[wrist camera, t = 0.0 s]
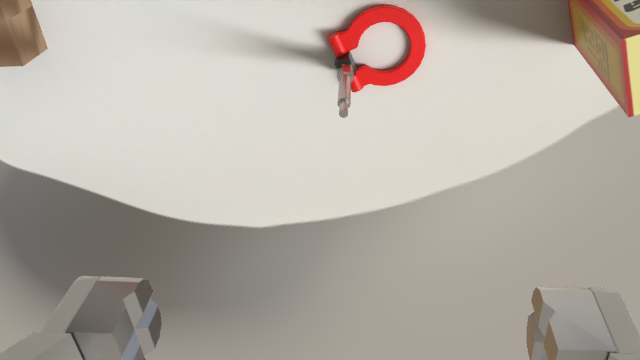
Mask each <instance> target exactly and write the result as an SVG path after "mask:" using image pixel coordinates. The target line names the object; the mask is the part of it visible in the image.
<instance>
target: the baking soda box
mask: <svg viewBox="0 0 640 360" xmlns="http://www.w3.org/2000/svg"><path fill="white" fill-rule="evenodd" d="M568 5H569V12H570V19H571V26H572V33H573V40H574V46H575V47H576V48H577V49H578V51H579V52H580V53H581V55H582V56H583V57H584V59H585V60H586V61H587V63H588V64H589V65H590V67H591V68H592V69H593V71H594V72H595V73H596V75H597V76H598V77H599V79H600V80H601V81H602V83H603V84H604V85H605V87H606V88H607V89H608V91H609V92H610V93H611V95H612V96H613V97H614V99H615V100H616V101H617V103H618V104H619V105H620V107H621V108H622V109H623V110H624V112H625V113H626V114H627V116H628V117H631V116H635V115H639V114H640V0H568Z"/></svg>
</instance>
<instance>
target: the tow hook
mask: <svg viewBox="0 0 640 360" xmlns="http://www.w3.org/2000/svg"><path fill="white" fill-rule="evenodd" d="M379 22H392V23H395V24H398V25H399V26H400V27H402V28H403V29H404V30H405V31H406V32H407V34H408V36H409V38H410V44H411V45H410V51H409V53H408V56H407V58H406V59H405V60H404V61H403V63H401V64H400V65H399V66H397V67H395V68H393V69H390V70H385V71H384V70H376V69H373V68H371V67H369V66H368V65H363V66H361V67H358V68H357V67H356V65H355V62H354V60H353V58H352V55H351V53H350V50H353V49H355V48H357V46H358V42H359V40H360V37H361V35H362V34H363V32H364V31H365V30H366V29H367V28H369V27H370V26H371V25H374V24H376V23H379ZM328 39H329V42H330V44H331V46H332V48H333V50H334V53H335V55H336V59H335V65H336V67H337V69H338V72H337V79H338V81H339V90H338V106H339V107H340V108H339V115H340V116H341V117H343V118H344V117H346V116H347V115H348V108H349V106H350V103H351V90H352V92H357V91H359V90H361V89H362V88H363V87H364V86H365V85H367V84H373V85H381V86H387V85H393V84H396V83H399V82H401V81H403V80H405V79H407V78H408V77H409V76H411V75H412V74H413V73H414V72H415V71H416V69H417V68H418V67H419V66H420V64H421V61H422V59H423V57H424V53H425V47H426V44H425V35H424V32H423V30H422V27H421V25H420V23H419V22H418V21H417V19H416V18H415V17H414V16H413V15H412V14H411V13H409V12H408V11H406V10H405V9H402V8H399V7H396V6H391V5H381V6H376V7H372V8H370V9H367V10H365V11H363V12H362V13H361V14H359V15H358V16H357V17H356V18H355V19H354V20H353V21H352V23H351V24H350V26H349V27H348V29H347V30H344V31H342V32H340V31H337V32H334V33H332V34H330V35H329V36H328Z"/></svg>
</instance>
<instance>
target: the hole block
mask: <svg viewBox="0 0 640 360" xmlns="http://www.w3.org/2000/svg"><path fill="white" fill-rule="evenodd" d="M46 49H48V48H47V46H46V43H45V40H44V37H43V34H42V31H41V29H40V26H39V23H38V20H37V17H36V15H35V12H34V9H33V6H32V3H31V1H30V0H0V67H4V66H24V65H25V64H27V63H28V62H29V61H31V60H32V59H34V58H35V57H36V56H38V55H39V54H41V53H42V52H43V51H45V50H46Z"/></svg>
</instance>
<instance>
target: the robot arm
mask: <svg viewBox="0 0 640 360" xmlns="http://www.w3.org/2000/svg"><path fill="white" fill-rule="evenodd" d="M152 293H153V289H152V286H151V284H150V281H149V280H147V279H144V278H122V277H93V276H81V277H79V278H78V279H76V280H75V281H74V283H73V284H72V285H71V287H70V288H69V290H68V291H67V293H66V294H65V296H64V297H63V299H62V300H61V302H60V303H59V305H58V306H57V308H56V310H55V311H54V312H53V314H52V315H51V317H50V318H49V320H48V321H47V323H46V324H45V326H44V327H43V329H42V330H41V332H33V333H31V334H30V335H28V336H27V337H25V338H24V339H22V340H21V341H19V342H17V343H16V344H14V345H13V346H11V347H10V348H8V349H6V350H5V351H3V352H2V353H0V360H145V357H144V356H145V355H147V354H148V353H149V352H151V351H152V350H153V349H154V348H155V347H156V344H157V342H158V339H159V337H160V330H161V324H162V323H161V313H160V310H159V307H158V305H157V304H156V303H154V302H153V301H152V300H151V299H150V297H151V295H152ZM531 301H532V304H533V308H534V312H533V313H532V314H531V315H530V316H529V317H528V322H527V348H528V354H529V358H530V360H640V333H639V331H638V329H637V327H636V325H635V322H634V320H633V318H632V316H631V314H630V312H629V310H628V308H627V306H626V304H625V301H624V300H623V297H622V295H621V293H620V291H618V290H617V289H616V288H570V287H536V288H535V290H534V291H533V296H532V300H531Z"/></svg>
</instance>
